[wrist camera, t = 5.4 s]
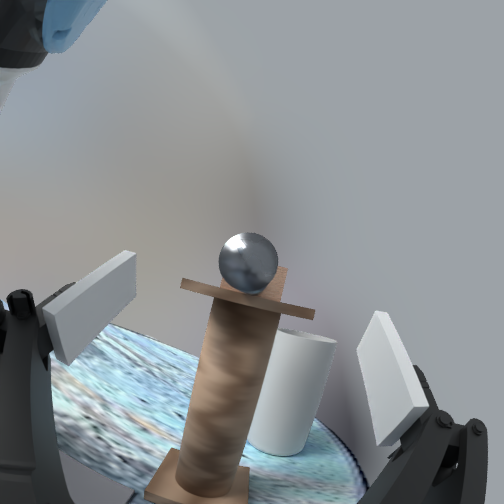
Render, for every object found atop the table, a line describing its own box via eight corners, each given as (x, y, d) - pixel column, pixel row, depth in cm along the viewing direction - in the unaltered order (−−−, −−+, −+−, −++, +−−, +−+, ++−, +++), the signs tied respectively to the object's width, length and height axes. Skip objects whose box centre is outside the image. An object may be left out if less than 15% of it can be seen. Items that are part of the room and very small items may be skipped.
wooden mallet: (309, 306, 13) (324, 230, 14) (175, 273, 14) (196, 201, 14) (275, 301, 38) (282, 274, 38) (226, 290, 38) (233, 262, 39)
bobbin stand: (143, 499, 21) (182, 277, 26) (169, 455, 34) (206, 285, 39) (243, 525, 20) (315, 309, 25) (246, 475, 33) (296, 306, 38)
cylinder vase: (282, 428, 55) (309, 332, 59) (314, 452, 44) (349, 344, 48) (235, 430, 50) (263, 325, 54) (264, 461, 39) (301, 339, 43)
